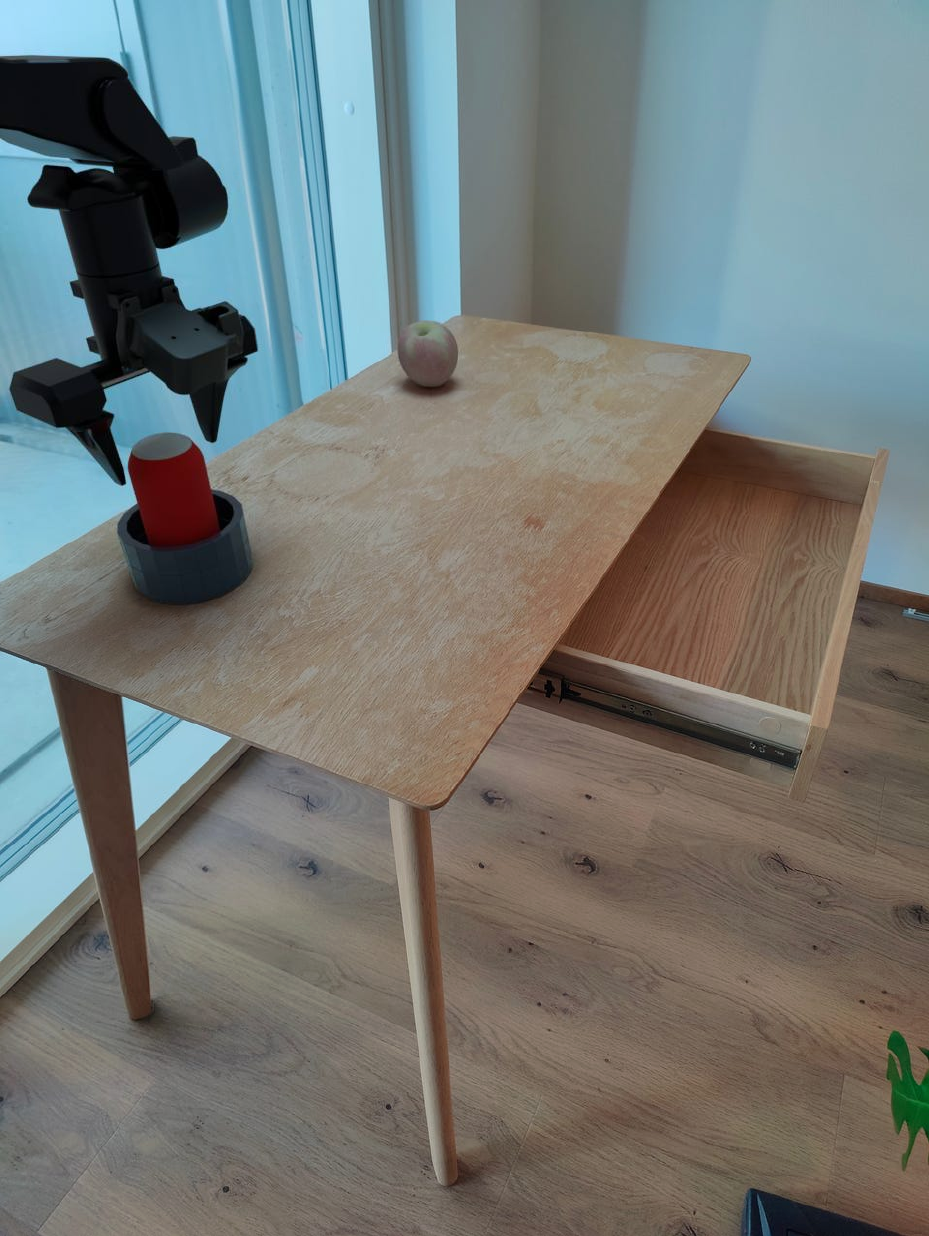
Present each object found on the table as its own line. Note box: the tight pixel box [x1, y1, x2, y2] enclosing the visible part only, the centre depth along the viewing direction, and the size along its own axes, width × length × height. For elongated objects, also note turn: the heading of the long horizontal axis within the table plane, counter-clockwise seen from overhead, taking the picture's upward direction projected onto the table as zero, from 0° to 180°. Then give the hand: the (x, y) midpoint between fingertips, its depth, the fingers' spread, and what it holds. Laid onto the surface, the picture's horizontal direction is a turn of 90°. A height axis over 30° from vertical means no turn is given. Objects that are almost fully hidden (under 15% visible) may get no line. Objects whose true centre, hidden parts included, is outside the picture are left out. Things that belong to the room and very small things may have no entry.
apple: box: [397, 320, 459, 388], centre depth 107 cm, size 8×8×8 cm
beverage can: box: [127, 432, 220, 547], centre depth 72 cm, size 6×6×12 cm
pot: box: [116, 488, 254, 605], centre depth 74 cm, size 11×11×6 cm
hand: (167, 461), depth 70 cm, fingers open, 9 cm apart
